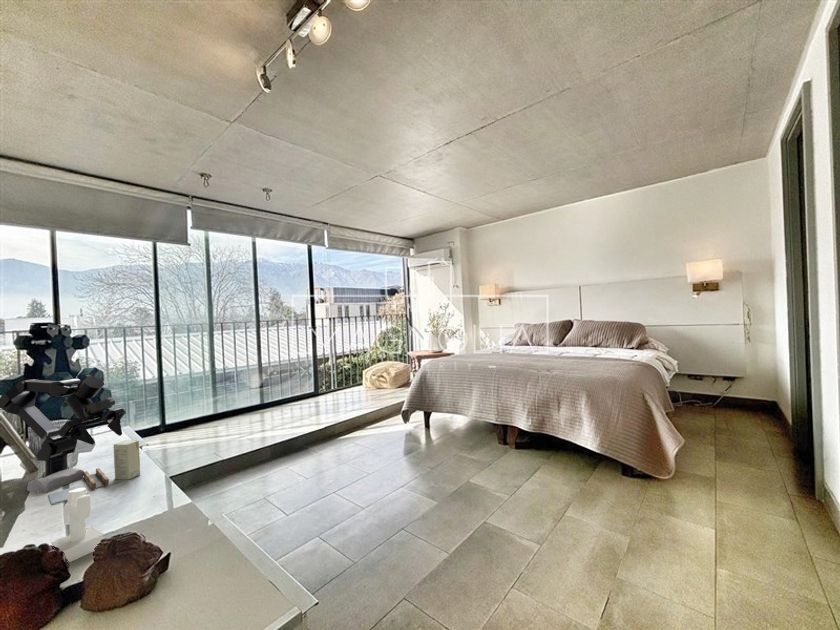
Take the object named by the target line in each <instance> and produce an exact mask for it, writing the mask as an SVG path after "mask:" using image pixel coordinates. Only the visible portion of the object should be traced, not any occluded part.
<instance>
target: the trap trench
mask: <svg viewBox="0 0 840 630" xmlns="http://www.w3.org/2000/svg"><path fill="white" fill-rule="evenodd" d="M83 478H84V479H85V481H86V482H87V484H88V485H89V487H90V488H91V489H92V490H97V489H100V488H103V487H106V486H109V484H110V479H109V477H108V476H107V475H106V474H105V473H104V472H103V471H102V470H101V468H100V467H97V468H95V473H92V474H90V473H89V471H88V470H85V471H84V476H83Z"/></svg>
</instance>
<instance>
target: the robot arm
mask: <svg viewBox="0 0 840 630" xmlns="http://www.w3.org/2000/svg"><path fill="white" fill-rule="evenodd" d="M104 386H105V381H104V380H103V379H102V378H99V377H96V376H93V375H92V374H87V375H84V376H83V377H82V380H81V379H79V378H72V379H66V380H45V379H44V380H42V379H35V378H34V379H33V378H32V379H26V380H20V381H19V382H17V383H16V384H15V386H13V387H11V388H10V389H8V390H7V391H5V392H4V393H3V394H2V395H0V409H1V410H3V411H4V412H6V413H7V414H11V415H16V416H18V417H19V419H21V420H22V421H23V422H24V423H25V424H26V426H28V427H29V428H30V429H31V430H32V431H33V432H34V433H35V434H36V435H37V436H38V437H39V438H40V439H41V441H40V449H39V451H38V452H37V453H36V454H35V456H36V460H37V461H41V462H44V463H45V465H44V468H45V470H44V472H42V475H43V478H44V477H47V476H48V475H51V474H53V473H56V472H59V471H62V470H66V469H70V467H69V466H68V465H69V464H68V463H69V462H68V455H69V454H73V453H75V451H76V449H77V444H78V441H80V442H83V443H86V444H88V445H91V446H93V445H95V444H96V441H95V439H94V438H93V437H92V436H91V434H90V433H89V431H88V430H87V427H88V426H92V425H96V424H100V423H103V422H104V423H105V424H106V425H107V428H108V429H110V430H111V431H112V432H113V433H115V435H117V436H118V437H120V436H122V435H123V431H122V425H121V424H122V423H121V419H122V418H123V417H124V416H125V414H126V413H127V411H126V410H125V409H124V408H123V407H120V408H116V409H111V408H113V406H114V405H116V400H115V399H114V398H113V397H112V396H110V397H109V396H108V397H106V398H104V399H102V400H99V401H95V402H93V401H92V399H93V398H94V397H95V396H96V395H97V394H98V393H99V392H100V391H101V389H102V388H103V387H104ZM38 393H49V394H50V396H53V397H56V398H62V397H67V398H66V399H64V400H63V403H62V407H63V408H66V407H69V409H70V410H71V411H72V412H73V415H72V418H73V419H71V420H67V421H65V423H64V424H63V425H62V426H61V428H60V429H59V428H58V427H57V426H55V425H54V423H53V422H52V421H51V420H50V419H49V418H47V416H45V415H44V414H43V412H41V411H40V410H39V408H38V407H36V405H35V404H36V398H37V396H38V395H39V394H38ZM108 409H111V410H110V411H109V412H108V413H107V414H106V412H107V411H106V410H108ZM104 414H106V415H104Z"/></svg>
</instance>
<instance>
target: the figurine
mask: <svg viewBox="0 0 840 630" xmlns="http://www.w3.org/2000/svg"><path fill="white" fill-rule="evenodd" d="M86 490H87V488H86V487H85V488H77V489H74V490H72V491H71V490H70V491H69V492H68V498H67V501H66V503H65V505H64V508H63V523H64V525H69V529H68V530H69V531H68V532H69V534H68V535H66V536H64V537H61V538H59V539H56V540H54V541H51V542H50V544H51V546H52V547H53V546H55V547H58V548H60V549H61V550H62V551H63V552H64V553H65V556H66V558H67V559H68V561H69V562H68V561H67V562H68V563H71V562H73V561H76V560H78V559H80V558H81V557H82V558H83V557H85V556H86V555H88V554H89V555H90V553H93V552H94V551H93V549H94V548H95V547H96V546H97V547H98V545H99V543H100V541H101V540H102V538H103V537H104V535H105V533H104V532H102V531H100V530H98V529H97V528H95V527H94V526H92V525H91V526H88V527H86V520H87V519H88V518H89V517H90V515H91V511H92V506H91V505H92V501H91V499H92V497H91V495H90V494H87V495H85V494H86ZM97 544H98V545H97ZM97 547H96V548H97Z"/></svg>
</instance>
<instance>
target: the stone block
mask: <svg viewBox="0 0 840 630" xmlns="http://www.w3.org/2000/svg"><path fill="white" fill-rule="evenodd" d="M84 472H85V471H84V470H83V469H81V468H73V467H71V468H70V467H69V469H66V470H62V471H59V472H56V473H53V474H51V475H48V476H47V477H44V476H43V477H40V478H36V479H33V480H30V481H28V484H27V488H26V489H27V492H29V491H30V492H29V493H48V492H50V491H53V490H55V489H58V488H60V487H63V486H66V485H68V484H71V483H73V482H76V481H79V480H81V479H82V478H84Z"/></svg>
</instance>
